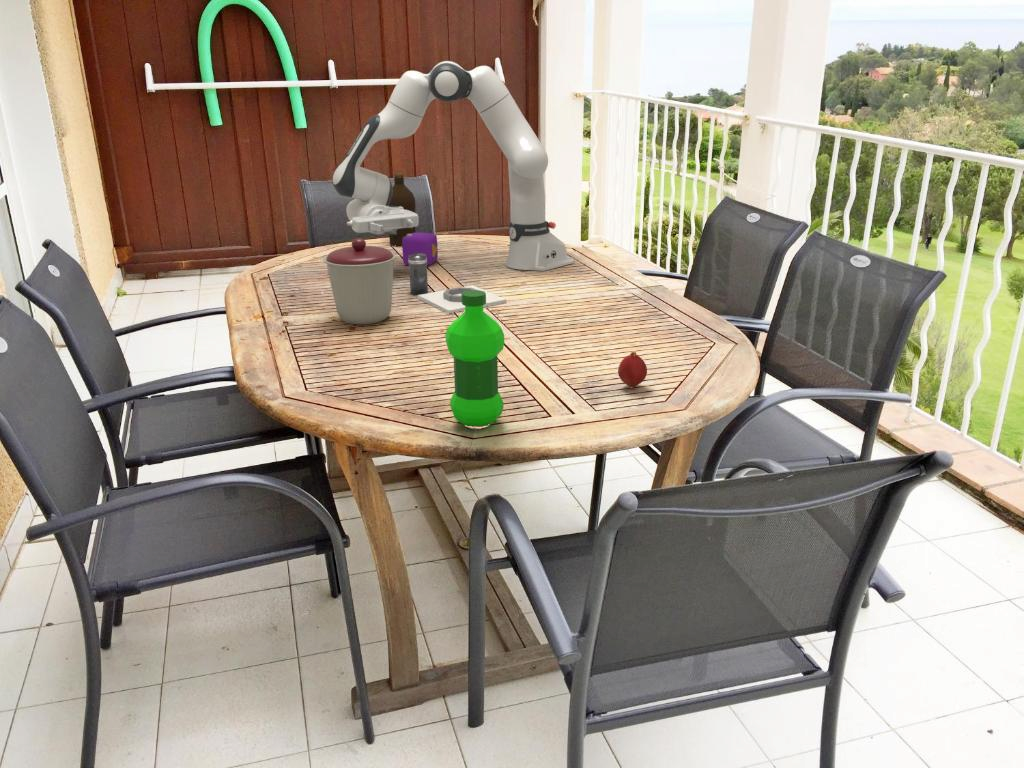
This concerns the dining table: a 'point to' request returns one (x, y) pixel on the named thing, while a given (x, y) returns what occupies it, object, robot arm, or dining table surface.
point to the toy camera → (420, 246)
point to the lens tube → (418, 273)
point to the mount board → (457, 305)
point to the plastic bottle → (475, 362)
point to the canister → (361, 282)
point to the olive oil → (405, 200)
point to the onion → (632, 370)
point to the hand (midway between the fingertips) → (396, 226)
